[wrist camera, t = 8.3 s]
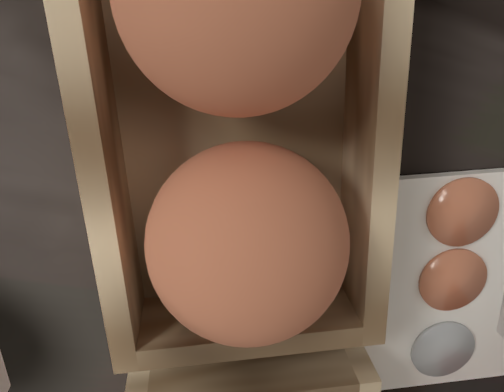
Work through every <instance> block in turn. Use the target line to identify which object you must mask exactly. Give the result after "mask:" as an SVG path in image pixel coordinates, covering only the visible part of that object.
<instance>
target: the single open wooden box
mask: <svg viewBox="0 0 504 392" xmlns="http://www.w3.org/2000/svg"><path fill="white" fill-rule="evenodd" d="M381 385H382V381H381V379H380V377H379V375H378V373H377V371H376V369H375V367H374V365H373V363H372V361H371V359H370V357H369V355H368V353H367V351H366V349H365V347H364V346H363V347H354V348H345V349H336V350H327V351H318V352H309V353H300V354H291V355H282V356H273V357H265V358H256V359H247V360H238V361H229V362H220V363H211V364H202V365H193V366H184V367H175V368H166V369H157V370H148V371H139V372H130V373H128V376H127V382H126V388H125V392H381Z"/></svg>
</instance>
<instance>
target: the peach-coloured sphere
mask: <svg viewBox="0 0 504 392" xmlns="http://www.w3.org/2000/svg"><path fill="white" fill-rule="evenodd" d="M110 5H111V10H112V15H113V18H114V21H115V24H116V27H117V30H118V33H119V35H120V37H121V39H122V41H123V44H124V46H125V48H126V50H127V51H128V53H129V54H130V56H131V58H132V59H133V61H134V62H135V64H136V65H137V66H138V67H139V69H140V70H141V71H142V72H143V74H144V75H145V76H146V77H147V78H148V79H149V80H150V81H151V82H152V83H153V84H154V85H155V86H156V87H157V88H158V89H160V90H161V91H162V92H164V93H165V94H166V95H168V96H169V97H171V98H172V99H174V100H176V101H178V102H179V103H181V104H183V105H185V106H187V107H189V108H192V109H194V110H197V111H199V112H203V113H207V114H211V115H214V116H222V117H229V118H246V117H253V116H260V115H264V114H268V113H272V112H275V111H278V110H280V109H283V108H285V107H287V106H289V105H291V104H293V103H295V102H297V101H298V100H300V99H302V98H303V97H305V96H306V95H307V94H309V93H310V92H311V91H313V90H314V89H315V88H316V87H317V86H318V85H319V84H320V83H321V82H322V81H323V80H324V79H325V78H326V77H327V76H328V75H329V74H330V72H331V71H332V70H333V69H334V68H335V66H336V65H337V63H338V62H339V60H340V59H341V57H342V55H343V54H344V52H345V50H346V48H347V46H348V44H349V42H350V40H351V38H352V35H353V32H354V29H355V26H356V23H357V20H358V15H359V11H360V7H361V0H110Z"/></svg>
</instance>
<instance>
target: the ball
mask: <svg viewBox="0 0 504 392" xmlns="http://www.w3.org/2000/svg"><path fill="white" fill-rule="evenodd" d="M144 251H145V260H146V265H147V269H148V274H149V277H150V280H151V282H152V285H153V287H154V289H155V291H156V293H157V295H158V296H159V298H160V300H161V302H162V303H163V305H164V306H165V307H166V308H167V310H168V311H169V312H170V313H171V314H172V315H173V316H174V317H175V318H176V319H177V320H178V321H179V322H180V323H181V324H182V325H183V326H185V327H186V328H187V329H189V330H190V331H192V332H193V333H195V334H197V335H199V336H201V337H203V338H205V339H207V340H210V341H212V342H215V343H218V344H222V345H225V346H232V347H242V348H251V347H262V346H268V345H272V344H275V343H279V342H282V341H284V340H287V339H289V338H291V337H293V336H295V335H297V334H299V333H301V332H302V331H304V330H305V329H307V328H308V327H310V326H311V325H312V324H313V323H314V322H316V321H317V320H318V319H319V318H320V317H321V316H322V315H323V313H324V312H325V311H326V310H327V309H328V307H329V306H330V305H331V303H332V302H333V301H334V299H335V297H336V295H337V294H338V292H339V290H340V288H341V285H342V283H343V280H344V277H345V274H346V271H347V267H348V263H349V254H350V233H349V227H348V221H347V217H346V214H345V211H344V208H343V205H342V203H341V201H340V199H339V197H338V195H337V193H336V191H335V190H334V188H333V186H332V185H331V184H330V182H329V181H328V179H327V178H326V177H325V176H324V175H323V174H322V173H321V172H320V171H319V170H318V169H317V168H316V167H315V166H314V165H313V164H311V163H310V162H309V161H308V160H306V159H305V158H303V157H302V156H300V155H298V154H297V153H295V152H293V151H290V150H288V149H286V148H283V147H281V146H278V145H274V144H270V143H266V142H259V141H236V142H228V143H224V144H220V145H216V146H213V147H211V148H208V149H206V150H204V151H201V152H200V153H198V154H196V155H194V156H193V157H191V158H190V159H188V160H187V161H186V162H184V163H183V164H182V165H180V166H179V167H178V168H177V169H176V170H175V171H174V172H173V173H172V174H171V175H170V176H169V178H168V179H167V180H166V182H165V183H164V184H163V185H162V187H161V188H160V190H159V192H158V194H157V195H156V197H155V199H154V202H153V204H152V207H151V209H150V212H149V215H148V219H147V223H146V228H145V240H144Z"/></svg>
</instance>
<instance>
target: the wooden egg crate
mask: <svg viewBox="0 0 504 392" xmlns="http://www.w3.org/2000/svg"><path fill="white" fill-rule="evenodd" d="M43 3H44V8H45V14H46V19H47V24H48V29H49V35H50V40H51V45H52V51H53V56H54V61H55V66H56V72H57V77H58V82H59V88H60V93H61V98H62V103H63V109H64V114H65V119H66V124H67V130H68V135H69V140H70V146H71V151H72V156H73V161H74V167H75V172H76V177H77V182H78V188H79V193H80V198H81V204H82V209H83V214H84V219H85V225H86V230H87V235H88V240H89V246H90V251H91V256H92V262H93V267H94V272H95V277H96V283H97V288H98V293H99V298H100V304H101V309H102V314H103V320H104V325H105V330H106V335H107V341H108V346H109V351H110V356H111V362H112V367H113V372H114V374H121V373H130V372H139V371H148V370H157V369H166V368H175V367H184V366H193V365H202V364H211V363H220V362H229V361H238V360H247V359H256V358H265V357H273V356H282V355H291V354H300V353H309V352H318V351H327V350H336V349H345V348H354V347H363V346H372V345H381V344H385V339H386V327H387V315H388V304H389V292H390V281H391V269H392V258H393V246H394V235H395V223H396V212H397V200H398V188H399V177H400V165H401V154H402V142H403V131H404V119H405V108H406V96H407V85H408V73H409V61H410V50H411V38H412V27H413V15H414V4H415V0H361V7H360V11H359V15H358V20H357V23H356V26H355V29H354V32H353V35H352V38H351V40H350V42H349V44H348V46H347V48H346V50H345V52H344V54H343V55H342V57H341V59H340V60H339V62H338V63H337V65H336V66H335V68H334V69H333V70H332V71H331V72H330V74H329V75H328V76H327V77H326V78H325V79H324V80H323V81H322V82H321V83H320V84H319V85H318V86H317V87H316V88H315V89H314V90H313V91H311V92H310V93H309V94H307V95H306V96H305V97H303V98H302V99H300V100H298V101H297V102H295V103H293V104H291V105H289V106H287V107H285V108H283V109H280V110H278V111H275V112H272V113H268V114H264V115H260V116H253V117H246V118H229V117H222V116H214V115H211V114H207V113H203V112H199V111H197V110H194V109H192V108H189V107H187V106H185V105H183V104H181V103H179V102H178V101H176V100H174V99H172V98H171V97H169V96H168V95H166V94H165V93H164V92H162V91H161V90H160V89H158V88H157V87H156V86H155V85H154V84H153V83H152V82H151V81H150V80H149V79H148V78H147V77H146V76H145V75H144V74H143V72H142V71H141V70H140V69H139V67H138V66H137V65H136V64H135V62H134V61H133V59H132V58H131V56H130V54H129V53H128V51H127V50H126V48H125V46H124V44H123V41H122V39H121V37H120V35H119V33H118V30H117V27H116V24H115V21H114V18H113V15H112V10H111V5H110V0H43ZM236 141H259V142H266V143H270V144H274V145H278V146H281V147H283V148H286V149H288V150H290V151H293V152H295V153H297V154H298V155H300V156H302V157H303V158H305V159H306V160H308V161H309V162H310V163H311V164H313V165H314V166H315V167H316V168H317V169H318V170H319V171H320V172H321V173H322V174H323V175H324V176H325V177H326V178H327V179H328V181H329V182H330V184H331V185H332V186H333V188H334V190H335V191H336V193H337V195H338V197H339V199H340V201H341V203H342V205H343V208H344V211H345V214H346V217H347V221H348V227H349V233H350V254H349V263H348V267H347V271H346V274H345V277H344V280H343V283H342V285H341V288H340V290H339V292H338V294H337V295H336V297H335V299H334V301H333V302H332V303H331V305H330V306H329V307H328V309H327V310H326V311H325V312H324V313H323V315H322V316H321V317H320V318H319V319H318V320H317V321H316V322H314V323H313V324H312V325H311V326H310V327H308V328H307V329H305V330H304V331H302V332H301V333H299V334H297V335H295V336H293V337H291V338H289V339H287V340H284V341H282V342H279V343H275V344H272V345H268V346H262V347H251V348H242V347H232V346H225V345H222V344H218V343H215V342H212V341H210V340H207V339H205V338H203V337H201V336H199V335H197V334H195V333H193V332H192V331H190V330H189V329H187V328H186V327H185V326H183V325H182V324H181V323H180V322H179V321H178V320H177V319H176V318H175V317H174V316H173V315H172V314H171V313H170V312H169V311H168V310H167V308H166V307H165V306H164V305H163V303H162V302H161V300H160V298H159V296H158V295H157V293H156V291H155V289H154V287H153V285H152V282H151V280H150V277H149V274H148V269H147V265H146V260H145V251H144V240H145V228H146V223H147V219H148V215H149V212H150V209H151V207H152V204H153V202H154V199H155V197H156V195H157V194H158V192H159V190H160V188H161V187H162V185H163V184H164V183H165V182H166V180H167V179H168V178H169V176H170V175H171V174H172V173H173V172H174V171H175V170H176V169H177V168H178V167H179V166H180V165H182V164H183V163H184V162H186V161H187V160H188V159H190V158H191V157H193V156H194V155H196V154H198V153H200V152H201V151H204V150H206V149H208V148H211V147H213V146H216V145H220V144H224V143H228V142H236Z"/></svg>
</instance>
